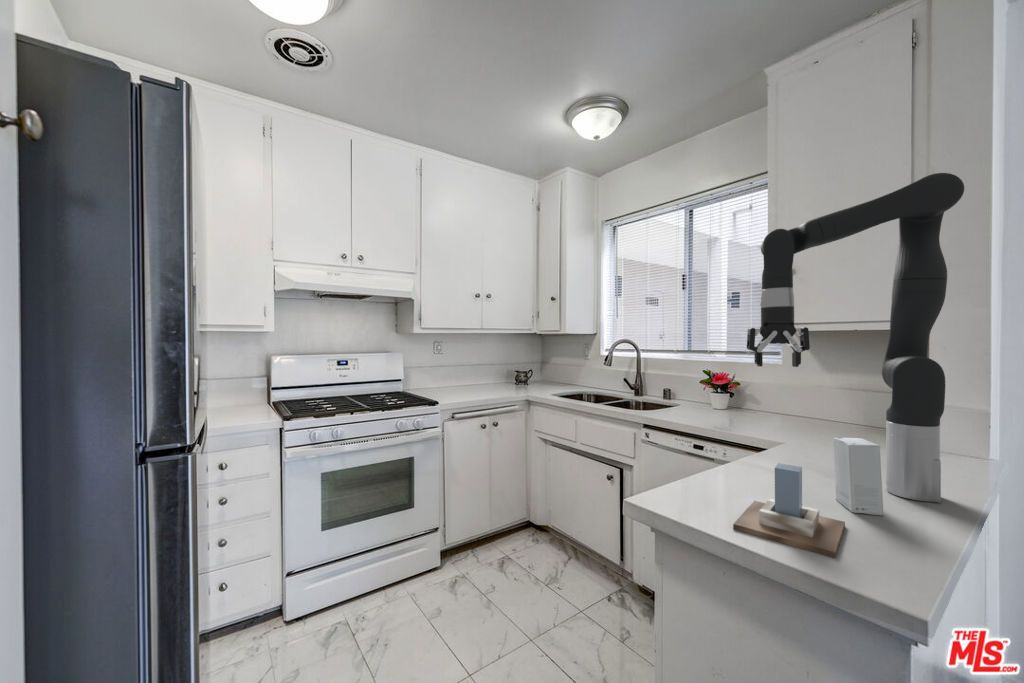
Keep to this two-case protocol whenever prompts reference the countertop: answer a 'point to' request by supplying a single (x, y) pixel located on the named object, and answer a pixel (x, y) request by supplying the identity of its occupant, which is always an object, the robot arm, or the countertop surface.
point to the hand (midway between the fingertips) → (777, 366)
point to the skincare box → (858, 475)
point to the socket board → (792, 527)
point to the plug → (788, 490)
